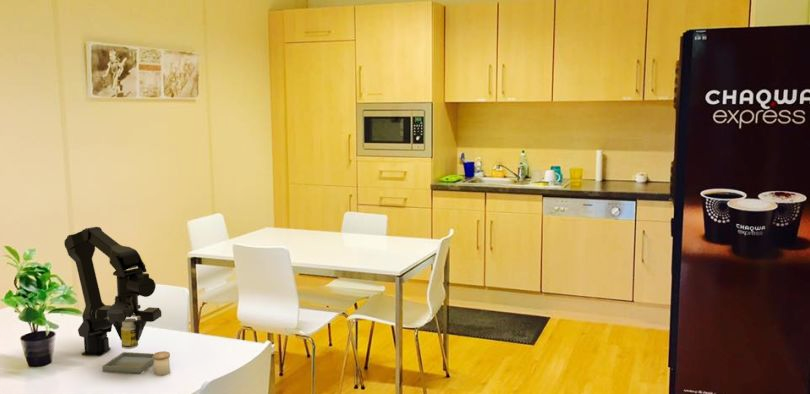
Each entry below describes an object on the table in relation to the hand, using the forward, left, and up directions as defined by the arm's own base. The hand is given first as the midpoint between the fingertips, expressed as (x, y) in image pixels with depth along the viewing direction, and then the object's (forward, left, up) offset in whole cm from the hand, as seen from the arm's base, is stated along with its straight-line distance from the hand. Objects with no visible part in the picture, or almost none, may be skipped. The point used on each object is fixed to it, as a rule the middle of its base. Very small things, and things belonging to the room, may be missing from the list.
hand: (129, 340), depth 217 cm
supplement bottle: (0, 0, -2) cm, 2 cm away
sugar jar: (+12, -4, -8) cm, 15 cm away
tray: (0, 0, -8) cm, 8 cm away
